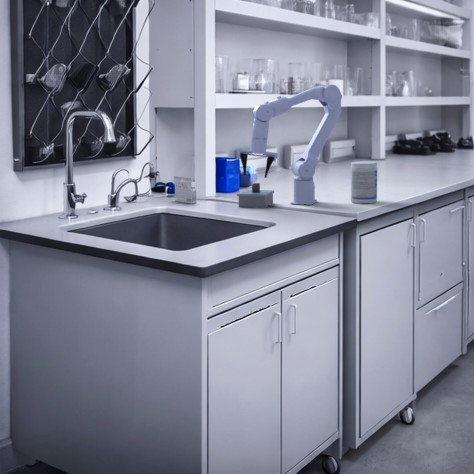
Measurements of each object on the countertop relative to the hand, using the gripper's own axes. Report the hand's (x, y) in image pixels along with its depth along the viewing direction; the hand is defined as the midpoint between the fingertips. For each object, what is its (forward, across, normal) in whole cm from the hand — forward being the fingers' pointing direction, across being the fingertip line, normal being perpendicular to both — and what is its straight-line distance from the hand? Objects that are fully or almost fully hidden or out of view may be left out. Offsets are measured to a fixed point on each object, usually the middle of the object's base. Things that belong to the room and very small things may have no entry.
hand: (255, 176), depth 246 cm
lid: (+7, -1, -2) cm, 7 cm away
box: (+11, -2, -2) cm, 11 cm away
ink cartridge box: (+14, +26, -11) cm, 32 cm away
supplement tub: (+6, -41, -7) cm, 42 cm away
